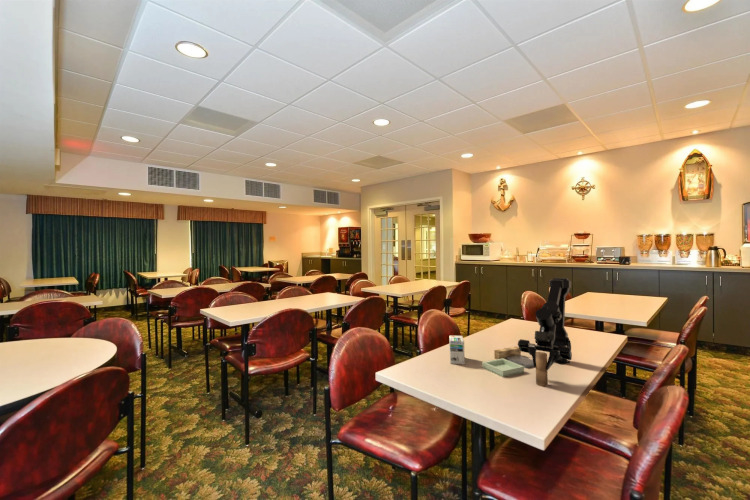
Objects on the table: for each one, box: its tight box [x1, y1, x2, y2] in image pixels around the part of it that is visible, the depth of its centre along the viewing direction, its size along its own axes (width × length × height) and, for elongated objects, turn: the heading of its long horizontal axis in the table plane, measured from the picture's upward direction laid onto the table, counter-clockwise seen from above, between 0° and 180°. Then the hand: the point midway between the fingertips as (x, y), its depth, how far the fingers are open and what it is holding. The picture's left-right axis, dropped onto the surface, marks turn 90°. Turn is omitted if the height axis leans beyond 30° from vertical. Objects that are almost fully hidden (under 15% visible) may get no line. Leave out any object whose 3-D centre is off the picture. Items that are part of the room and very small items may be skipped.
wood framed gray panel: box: [505, 355, 534, 369], centre depth 152 cm, size 8×12×2 cm, turn 24°
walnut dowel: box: [535, 351, 549, 388], centre depth 127 cm, size 4×4×12 cm
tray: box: [482, 358, 525, 378], centre depth 143 cm, size 12×12×2 cm
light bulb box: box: [448, 334, 466, 365], centre depth 156 cm, size 11×7×11 cm, turn 168°
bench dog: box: [493, 346, 522, 360], centre depth 159 cm, size 14×3×4 cm, turn 114°
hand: (540, 368), depth 126 cm, fingers closed on walnut dowel, 4 cm apart
